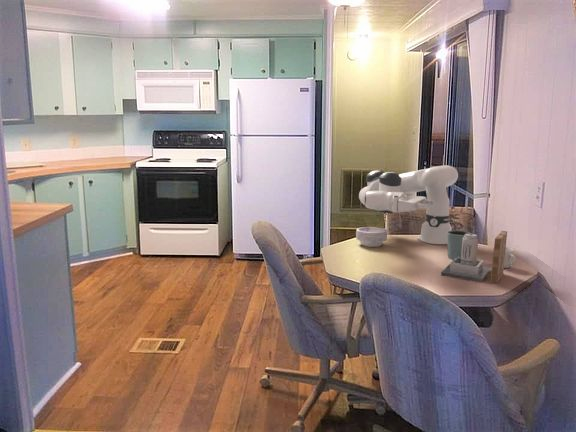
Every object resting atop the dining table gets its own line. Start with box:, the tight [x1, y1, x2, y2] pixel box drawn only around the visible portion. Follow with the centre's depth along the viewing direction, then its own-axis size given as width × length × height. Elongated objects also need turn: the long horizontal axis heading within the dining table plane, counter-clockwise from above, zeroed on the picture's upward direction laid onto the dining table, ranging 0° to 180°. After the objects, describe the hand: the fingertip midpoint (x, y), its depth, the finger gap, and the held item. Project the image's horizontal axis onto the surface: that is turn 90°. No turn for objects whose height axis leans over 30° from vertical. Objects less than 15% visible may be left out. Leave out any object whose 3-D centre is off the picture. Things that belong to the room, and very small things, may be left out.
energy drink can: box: [460, 233, 479, 266], centre depth 212 cm, size 6×6×15 cm
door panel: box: [490, 230, 508, 285], centre depth 206 cm, size 16×2×18 cm, turn 149°
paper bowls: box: [355, 226, 388, 248], centre depth 258 cm, size 15×15×8 cm
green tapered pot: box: [447, 229, 472, 261], centre depth 236 cm, size 10×10×12 cm
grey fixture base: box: [440, 257, 492, 283], centre depth 214 cm, size 18×16×5 cm
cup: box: [503, 246, 516, 269], centre depth 222 cm, size 11×8×8 cm
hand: (431, 204), depth 220 cm, fingers open, 8 cm apart
